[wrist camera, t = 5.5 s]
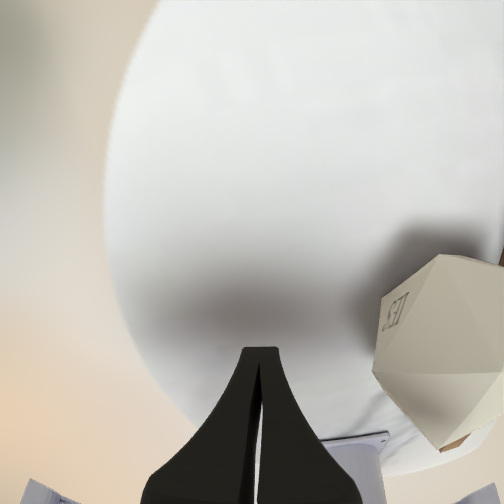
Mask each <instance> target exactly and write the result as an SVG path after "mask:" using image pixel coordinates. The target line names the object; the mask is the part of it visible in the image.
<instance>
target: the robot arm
mask: <svg viewBox="0 0 504 504" xmlns="http://www.w3.org/2000/svg"><path fill="white" fill-rule="evenodd" d="M261 405H263V420H262V439H261V455H260V469H259V483H258V493H257V503H258V504H387V503H386V496H385V490H384V485H383V479H382V473H381V468H380V462H379V457H378V455H379V453H380V452H381V450H382V449H383V447H384V446H385V444H386V442H387V441H388V439H389V438H390V435H389V433H381V434H376V435H370V436H364V437H357V438H350V439H342V440H333V441H323V442H320V440H319V439H318V438H317V436H316V435H315V433H314V432H313V430H312V429H311V427H310V425H309V424H308V422H307V420H306V419H305V417H304V415H303V414H302V412H301V410H300V408H299V406H298V404H297V402H296V400H295V398H294V396H293V394H292V392H291V389H290V387H289V384H288V382H287V379H286V377H285V374H284V371H283V368H282V364H281V361H280V356H279V348H277V347H276V346H273V347H244V348H243V349H242V352H241V355H240V358H239V361H238V364H237V366H236V369H235V371H234V373H233V375H232V377H231V379H230V381H229V383H228V385H227V387H226V389H225V391H224V393H223V394H222V396H221V398H220V399H219V401H218V403H217V405H216V406H215V408H214V409H213V411H212V412H211V414H210V415H209V417H208V418H207V419H206V421H205V422H204V423H203V425H202V426H201V427H200V428H199V430H198V431H197V432H196V433H195V434H194V436H193V437H192V438H191V439H190V440H189V441H188V442H187V444H186V445H185V446H184V447H183V448H182V449H180V450H179V452H178V453H177V454H175V455H174V456H173V457H172V458H171V459H170V460H169V461H168V462H167V463H166V464H164V465H163V466H162V467H161V468H160V469H158V470H157V471H156V472H154V473H153V474H152V475H151V476H150V477H149V479H148V481H147V483H146V485H145V488H144V490H143V493H142V498H141V503H140V504H254V486H255V454H256V443H257V436H258V429H259V421H260V413H261ZM20 504H80V503H78V502H75V501H73V500H70V499H68V498H66V497H63V496H61V495H60V494H59V493H57V492H56V491H54V490H53V489H51V488H49V487H47V486H45V485H43V484H41V483H39V482H37V481H35V480H33V479H29V482H28V485H27V487H26V490H25V492H24V495H23V497H22V500H21V503H20ZM453 504H500V500H499V497H498V493H497V489H496V486H495V483H491V484H490V485H487V486H486V487H483V488H481V489H479V490H477V491H475V492H473V493H471V494H469V495H467V496H466V497H464V498H463V499H461V500H460V501H458V502H456V503H453Z"/></svg>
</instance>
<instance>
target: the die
mask: <svg viewBox="0 0 504 504" xmlns="http://www.w3.org/2000/svg"><path fill="white" fill-rule="evenodd" d="M372 372H373V374H374V376H375V377H376V379H377V380H378V382H379V384H380V385H381V387H382V389H383V390H384V392H385V393H386V394H387V395H388V396H389V397H390V398H391V400H392V401H393V402H394V403H395V404H396V405H397V406H398V407H399V408H400V410H401V411H402V412H403V413H404V414H405V415H406V416H407V417H408V418H409V419H410V421H411V422H412V423H413V424H414V425H415V426H416V427H417V428H418V429H419V430H420V432H421V433H422V434H423V435H424V436H425V437H426V438H427V439H428V440H429V442H430V443H431V444H432V445H433V446H434V447H435V448H436V449H437V450H438V449H440V448H442V447H444V446H446V445H448V444H450V443H452V442H454V441H456V440H458V439H460V438H462V437H464V436H466V435H468V434H470V433H471V432H473V431H475V430H477V429H479V428H480V427H482V426H484V425H486V424H487V423H489V422H491V421H492V420H494V419H496V418H497V417H499V416H500V415H502V414H503V413H504V267H502V266H498V265H495V264H491V263H488V262H484V261H481V260H477V259H474V258H470V257H466V256H461V255H446V254H438V255H437V256H436V257H435V258H434V259H432V260H431V261H430V262H429V263H427V264H426V265H425V266H424V267H422V268H421V269H420V270H419V271H417V272H416V273H415V274H413V275H412V276H411V277H409V278H408V279H407V280H406V281H404V282H403V283H402V284H400V285H399V286H398V287H396V288H395V289H393V290H392V291H391V292H389V293H388V294H387V295H385V296H384V297H383V298H381V309H380V318H379V326H378V334H377V342H376V349H375V356H374V362H373V368H372Z"/></svg>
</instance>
